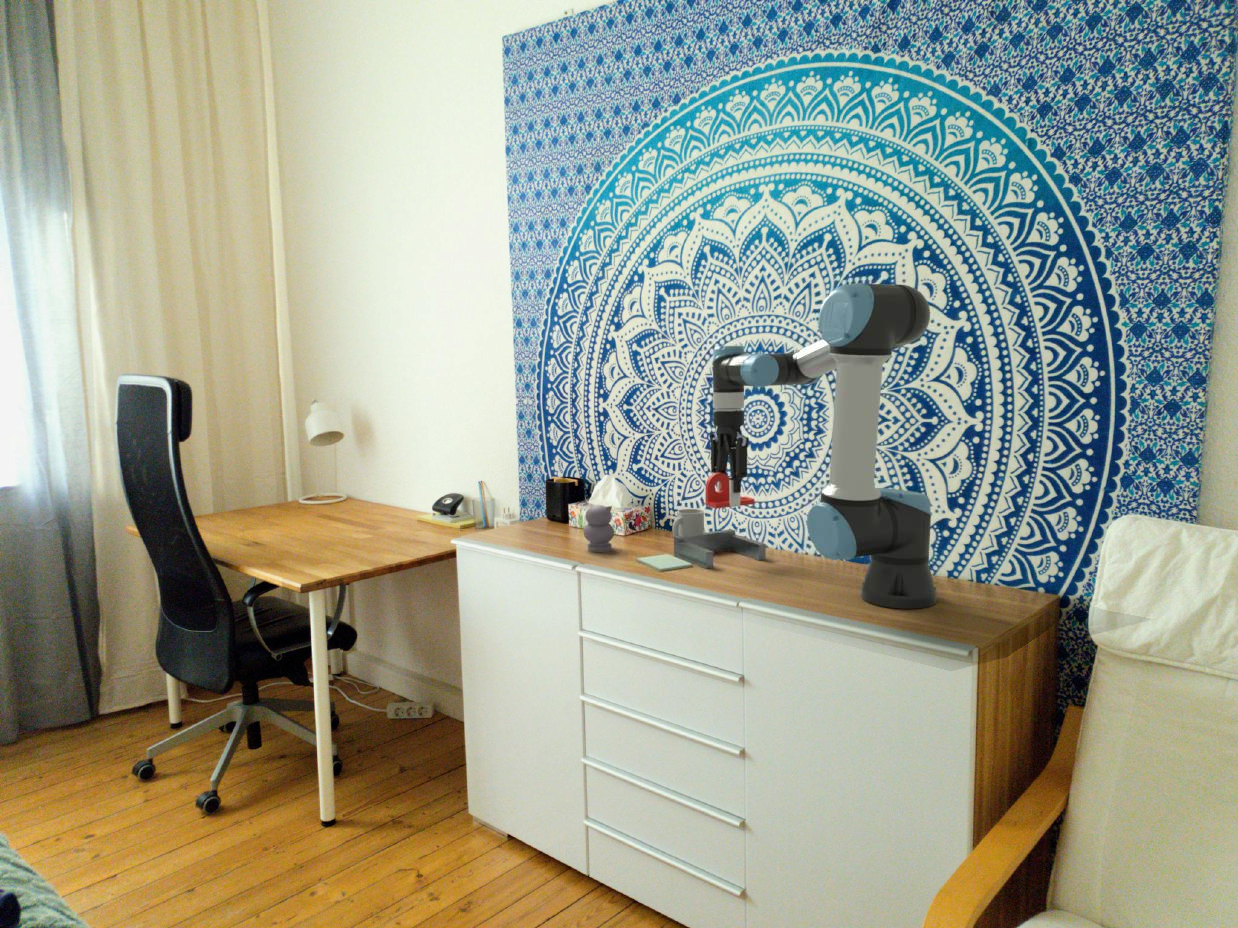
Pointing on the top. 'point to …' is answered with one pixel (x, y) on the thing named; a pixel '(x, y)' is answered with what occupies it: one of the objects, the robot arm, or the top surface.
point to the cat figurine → (599, 528)
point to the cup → (688, 522)
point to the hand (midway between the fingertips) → (728, 503)
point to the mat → (664, 562)
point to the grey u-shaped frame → (715, 547)
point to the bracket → (721, 492)
